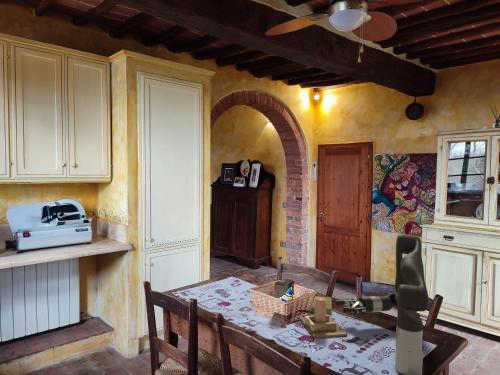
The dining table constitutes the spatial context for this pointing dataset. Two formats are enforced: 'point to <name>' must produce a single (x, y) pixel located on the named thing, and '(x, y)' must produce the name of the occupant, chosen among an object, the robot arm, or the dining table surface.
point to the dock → (323, 327)
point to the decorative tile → (328, 305)
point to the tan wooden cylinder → (320, 310)
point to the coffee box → (283, 287)
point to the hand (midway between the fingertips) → (339, 306)
